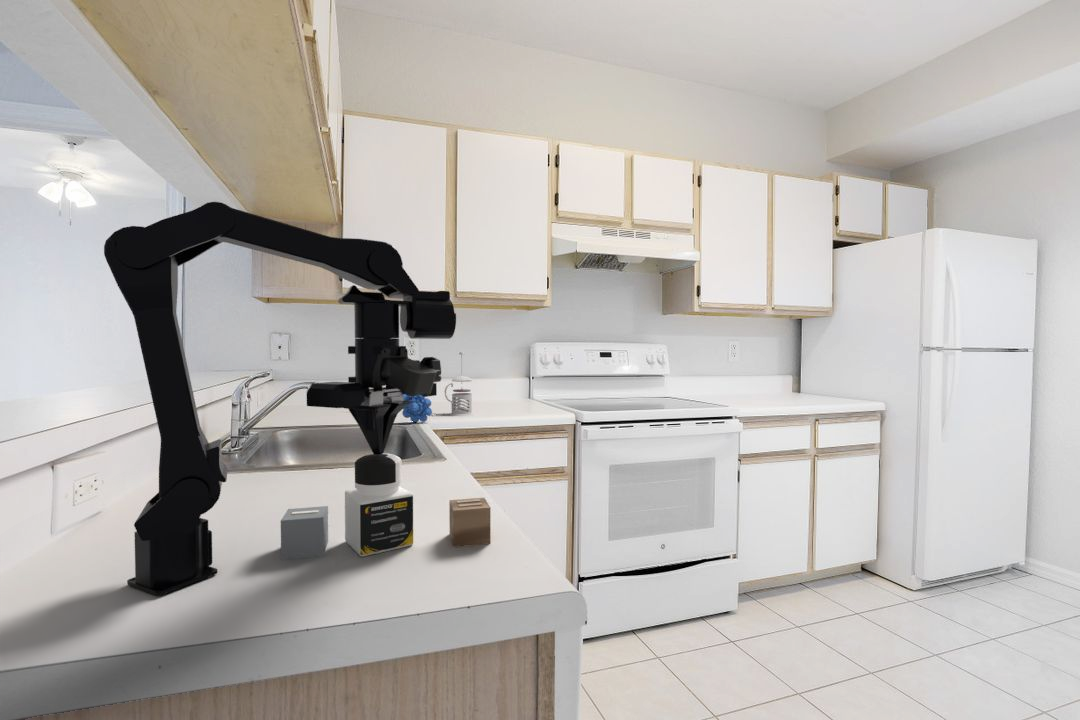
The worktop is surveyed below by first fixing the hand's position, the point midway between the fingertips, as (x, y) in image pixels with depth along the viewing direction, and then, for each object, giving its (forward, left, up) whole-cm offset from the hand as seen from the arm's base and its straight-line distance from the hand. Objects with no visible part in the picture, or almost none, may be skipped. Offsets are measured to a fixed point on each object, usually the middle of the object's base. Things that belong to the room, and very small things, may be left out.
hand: (378, 454), depth 71 cm
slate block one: (-6, +7, -12) cm, 15 cm away
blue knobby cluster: (+92, +70, -12) cm, 116 cm away
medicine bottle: (0, 0, -12) cm, 12 cm away
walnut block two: (+7, -10, -12) cm, 17 cm away
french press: (+119, +70, -12) cm, 139 cm away
